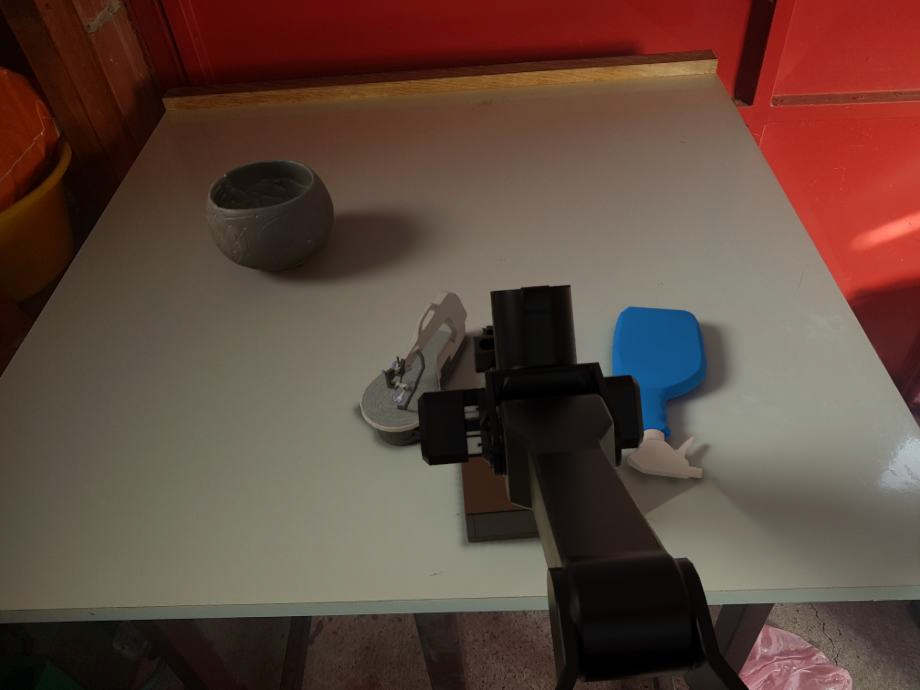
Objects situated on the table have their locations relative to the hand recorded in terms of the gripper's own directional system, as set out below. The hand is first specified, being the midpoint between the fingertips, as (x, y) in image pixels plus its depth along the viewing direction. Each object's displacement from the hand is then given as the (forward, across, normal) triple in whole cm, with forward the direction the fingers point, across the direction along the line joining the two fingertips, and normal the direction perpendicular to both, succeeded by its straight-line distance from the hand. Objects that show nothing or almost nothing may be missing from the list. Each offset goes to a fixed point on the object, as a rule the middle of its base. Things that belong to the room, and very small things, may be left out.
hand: (521, 412), depth 67 cm
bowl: (+38, +32, -24) cm, 55 cm away
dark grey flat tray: (+5, 0, +9) cm, 10 cm away
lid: (0, 0, +4) cm, 4 cm away
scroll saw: (+16, +10, -2) cm, 19 cm away
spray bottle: (+14, -17, 0) cm, 22 cm away
